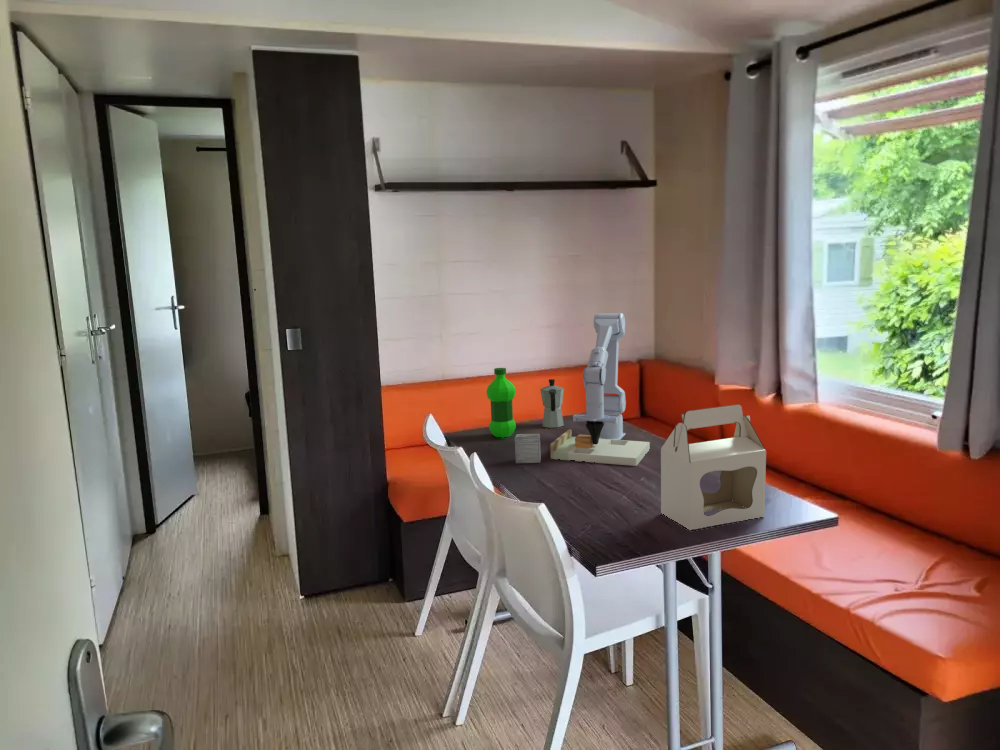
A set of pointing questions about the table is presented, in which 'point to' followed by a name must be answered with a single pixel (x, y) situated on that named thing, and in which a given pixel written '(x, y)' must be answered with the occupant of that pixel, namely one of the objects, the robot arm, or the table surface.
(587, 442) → the block
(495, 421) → the plastic bottle
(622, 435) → the robot arm
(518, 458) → the medicine box
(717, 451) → the gable box
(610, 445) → the deck
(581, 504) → the table surface
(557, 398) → the coffee maker
